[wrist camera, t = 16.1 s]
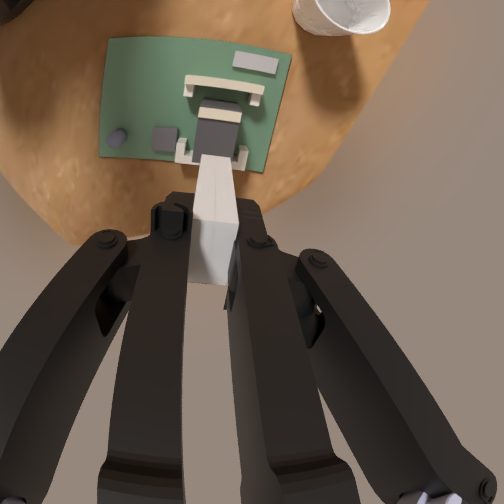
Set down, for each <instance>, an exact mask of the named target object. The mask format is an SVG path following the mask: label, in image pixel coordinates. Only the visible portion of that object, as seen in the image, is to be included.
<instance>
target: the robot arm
mask: <svg viewBox="0 0 504 504" xmlns="http://www.w3.org/2000/svg"><path fill="white" fill-rule="evenodd" d="M32 1H33V0H0V25H3V24H5V23H7V22H9V21H11V20H12V19H14V18H15V17H16V16H18V15H19V14H20V13H21V12H22V11H23V10H24V9H25V8H26V7H27V6H28V5H29V4H30V3H31V2H32ZM227 279H228V284H229V286H228V291H227V295H226V300H225V305H224V310H227V313H228V329H229V342H230V343H229V344H230V357H231V369H232V382H233V393H234V405H235V416H236V426H237V436H238V446H239V455H240V463H241V474H242V481H241V487H240V492H241V493H240V494H241V504H361V503H360V499H359V494H358V490H357V485H356V481H355V477H354V475H353V472H352V469H351V468H350V467H349V465H348V464H347V463H346V462H345V461H343V460H342V459H340V458H338V457H337V456H336V455H335V453H334V451H333V448H332V445H331V441H330V437H329V432H328V428H327V424H326V421H325V416H324V412H323V408H322V404H321V400H320V396H319V392H318V389H319V391H320V393H321V394H322V396H323V398H324V400H325V402H326V404H327V406H328V408H329V409H330V411H331V413H332V415H333V417H334V419H335V421H336V423H337V424H338V426H339V428H340V430H341V432H342V434H343V436H344V438H345V439H346V441H347V443H348V445H349V447H350V449H351V451H352V453H353V454H354V456H355V458H356V460H357V462H358V464H359V466H360V467H361V469H362V471H363V473H364V475H365V477H366V479H367V480H368V482H369V483H370V485H371V487H372V488H373V490H374V492H375V493H376V494H377V495H378V496H379V498H380V499H381V500H382V501H383V502H384V503H385V504H492V502H493V500H494V498H495V495H496V491H497V482H496V477H495V476H494V474H493V473H492V472H491V471H490V470H489V469H488V468H486V467H485V466H484V465H483V464H482V463H481V462H480V461H479V460H478V459H476V458H475V457H474V456H473V455H472V454H471V453H470V452H469V451H467V450H466V449H465V448H464V447H463V446H462V445H461V443H460V441H459V440H458V438H457V436H456V434H455V433H454V431H453V429H452V427H451V426H450V424H449V422H448V421H447V419H446V417H445V416H444V414H443V412H442V411H441V409H440V408H439V406H438V405H437V403H436V401H435V400H434V398H433V396H432V395H431V394H430V392H429V390H428V389H427V387H426V385H425V384H424V382H423V381H422V379H421V378H420V376H419V375H418V373H417V372H416V370H415V369H414V367H413V366H412V364H411V363H410V361H409V360H408V359H407V357H406V356H405V354H404V353H403V352H402V350H401V349H400V347H399V346H398V344H397V343H396V341H395V340H394V339H393V337H392V336H391V334H390V333H389V331H388V330H387V329H386V327H385V326H384V325H383V323H382V322H381V321H380V319H379V318H378V316H377V315H376V314H375V312H374V311H373V310H372V308H371V307H370V306H369V304H368V303H367V302H366V301H365V299H364V298H363V296H362V295H361V294H360V292H359V291H358V290H357V289H356V287H355V286H354V285H353V283H352V282H351V281H350V280H349V278H348V277H347V276H346V275H345V273H344V272H343V271H342V269H341V268H340V267H339V266H338V264H337V263H336V262H335V261H334V260H333V258H331V257H330V256H329V255H328V254H326V253H324V252H323V251H321V250H317V249H305V250H303V251H302V252H301V253H300V255H299V257H296V256H293V255H290V254H287V253H284V252H282V251H280V250H279V249H278V246H277V243H276V242H275V240H274V239H273V238H272V237H270V236H269V235H267V232H266V228H265V225H264V221H263V219H262V214H261V210H260V207H259V205H258V204H257V203H256V202H255V201H254V200H250V199H242V198H235V190H234V183H233V175H232V168H231V160H230V158H228V157H221V156H213V155H205V154H202V156H201V162H200V168H199V174H198V180H197V186H196V192H195V194H193V193H183V192H172V193H171V194H169V195H168V196H167V197H166V200H165V202H160V203H158V204H156V205H154V206H153V207H152V209H151V233H150V235H149V236H148V237H145V238H142V239H137V240H130V241H127V238H126V236H125V235H124V233H122V232H120V231H118V230H112V229H107V230H102V231H99V232H96V233H95V234H93V235H92V236H91V237H90V238H89V239H88V240H87V241H86V242H85V243H84V244H83V245H82V246H81V247H80V248H79V249H78V250H77V252H76V253H75V254H74V255H73V256H72V257H71V258H70V259H69V260H68V262H67V263H66V264H65V265H64V266H63V267H62V268H61V270H60V271H59V272H58V273H57V274H56V276H55V277H54V278H53V279H52V280H51V282H50V283H49V284H48V285H47V286H46V288H45V289H44V290H43V291H42V293H41V294H40V295H39V296H38V298H37V299H36V300H35V302H34V303H33V304H32V306H31V307H30V308H29V310H28V311H27V312H26V314H25V315H24V316H23V318H22V319H21V321H20V322H19V324H18V325H17V326H16V328H15V330H14V331H13V333H12V334H11V335H10V337H9V338H8V340H7V341H6V343H5V344H4V346H3V348H2V349H1V351H0V504H41V503H42V502H43V500H44V498H45V496H46V494H47V492H48V490H49V487H50V485H51V482H52V479H53V476H54V473H55V470H56V467H57V465H58V462H59V459H60V456H61V453H62V451H63V448H64V446H65V443H66V440H67V438H68V435H69V433H70V430H71V428H72V425H73V423H74V421H75V418H76V416H77V414H78V411H79V409H80V406H81V404H82V402H83V400H84V398H85V395H86V393H87V391H88V389H89V387H90V384H91V382H92V380H93V378H94V376H95V374H96V372H97V370H98V368H99V366H100V364H101V362H102V360H103V358H104V356H105V354H106V352H107V350H108V348H109V346H110V344H111V342H112V340H113V338H114V336H115V334H116V333H117V330H118V329H119V327H120V325H121V323H122V322H123V320H124V318H125V316H126V314H127V312H128V311H129V313H128V317H127V322H126V326H125V331H124V336H123V341H122V345H121V351H120V356H119V362H118V367H117V373H116V380H115V387H114V393H113V401H112V409H111V418H110V428H109V440H108V452H107V457H106V461H105V462H104V464H103V465H102V467H101V468H100V472H99V476H98V486H97V504H186V501H185V488H184V471H183V447H182V446H183V445H182V369H183V368H182V367H183V343H184V323H185V307H186V306H185V305H186V293H187V282H192V283H202V284H214V285H226V283H227ZM317 305H318V306H319V308H320V309H321V311H322V312H321V313H320V312H319V311H318V310H317V308H316V307H317ZM317 387H318V388H317Z"/></svg>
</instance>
